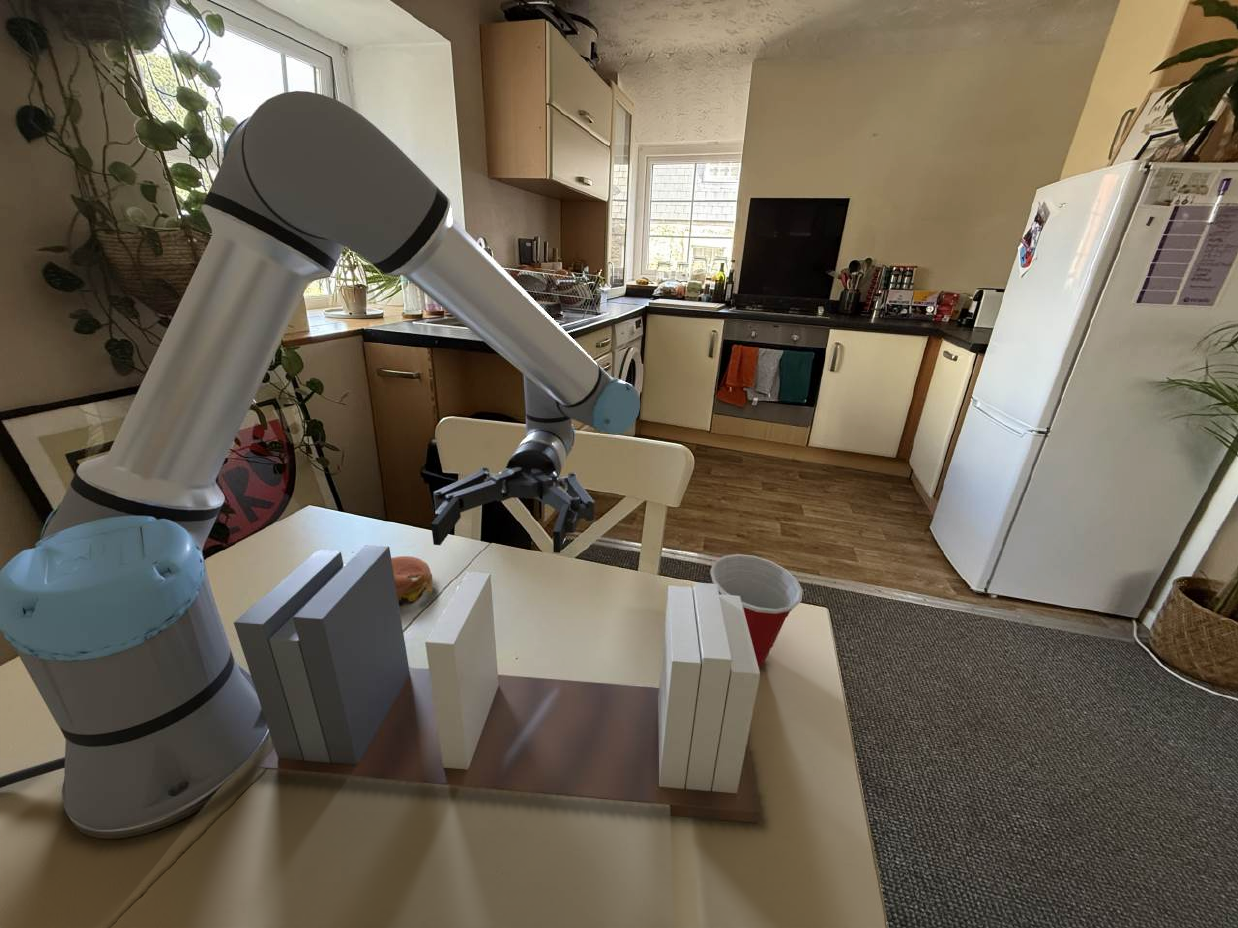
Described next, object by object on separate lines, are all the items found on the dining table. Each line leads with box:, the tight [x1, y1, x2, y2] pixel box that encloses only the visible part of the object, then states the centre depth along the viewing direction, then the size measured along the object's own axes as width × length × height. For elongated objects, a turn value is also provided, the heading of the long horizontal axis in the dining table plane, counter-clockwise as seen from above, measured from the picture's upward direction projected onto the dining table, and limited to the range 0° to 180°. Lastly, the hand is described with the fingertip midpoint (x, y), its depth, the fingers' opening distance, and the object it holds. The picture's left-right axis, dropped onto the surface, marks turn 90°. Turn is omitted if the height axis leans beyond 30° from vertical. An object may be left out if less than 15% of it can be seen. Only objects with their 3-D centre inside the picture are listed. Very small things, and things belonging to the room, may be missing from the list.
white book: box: [425, 571, 499, 770], centre depth 48 cm, size 2×10×15 cm, turn 176°
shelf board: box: [258, 667, 761, 824], centre depth 51 cm, size 46×13×2 cm, turn 86°
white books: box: [658, 582, 761, 793], centre depth 47 cm, size 7×10×16 cm
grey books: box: [233, 544, 410, 765], centre depth 48 cm, size 8×11×17 cm
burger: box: [391, 555, 434, 607], centre depth 71 cm, size 10×9×5 cm
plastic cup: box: [709, 553, 804, 669], centre depth 61 cm, size 11×11×12 cm
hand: (495, 538), depth 55 cm, fingers open, 13 cm apart
